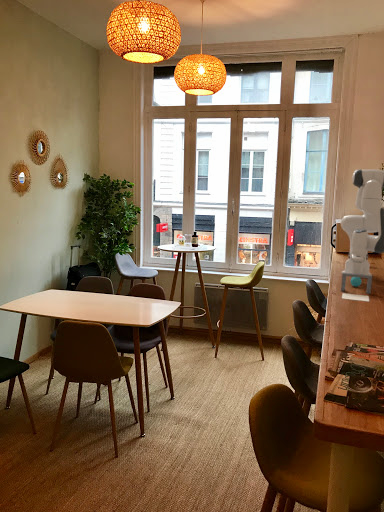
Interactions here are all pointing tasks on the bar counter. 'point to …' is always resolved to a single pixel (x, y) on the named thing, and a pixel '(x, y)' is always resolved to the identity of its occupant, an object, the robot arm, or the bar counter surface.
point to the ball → (356, 281)
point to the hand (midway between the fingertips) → (355, 280)
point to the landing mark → (355, 297)
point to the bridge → (357, 276)
